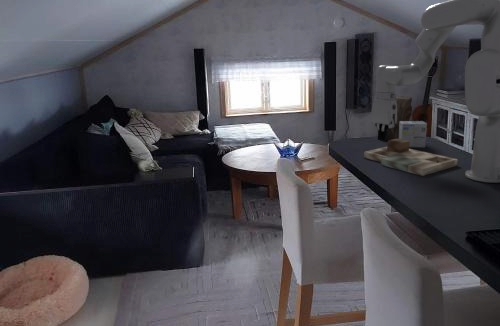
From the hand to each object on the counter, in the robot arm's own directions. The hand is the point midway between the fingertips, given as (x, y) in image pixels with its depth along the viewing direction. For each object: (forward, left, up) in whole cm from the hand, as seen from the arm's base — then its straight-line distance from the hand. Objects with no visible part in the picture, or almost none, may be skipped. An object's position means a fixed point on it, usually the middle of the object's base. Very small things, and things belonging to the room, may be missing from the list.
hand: (381, 139), depth 184 cm
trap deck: (-16, +5, -5) cm, 17 cm away
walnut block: (-8, 0, -3) cm, 9 cm away
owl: (+13, -24, -6) cm, 28 cm away
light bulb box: (0, -20, -6) cm, 21 cm away
